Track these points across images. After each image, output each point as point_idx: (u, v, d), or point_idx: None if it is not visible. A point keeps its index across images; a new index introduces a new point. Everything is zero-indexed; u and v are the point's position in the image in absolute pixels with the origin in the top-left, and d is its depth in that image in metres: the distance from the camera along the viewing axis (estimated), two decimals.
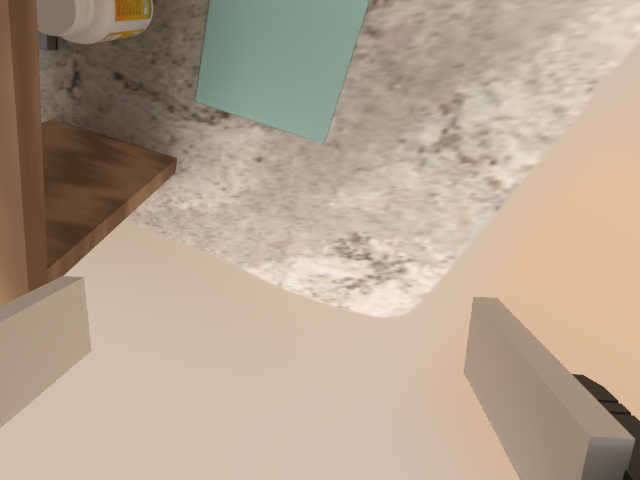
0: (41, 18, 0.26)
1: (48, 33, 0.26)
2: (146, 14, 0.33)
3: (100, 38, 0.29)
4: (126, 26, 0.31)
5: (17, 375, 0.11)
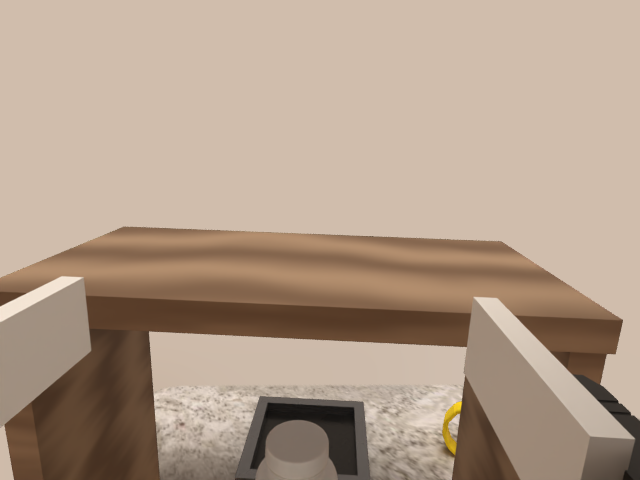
0: (281, 436, 0.27)
1: (267, 440, 0.26)
2: None
3: None
4: None
5: (17, 375, 0.11)
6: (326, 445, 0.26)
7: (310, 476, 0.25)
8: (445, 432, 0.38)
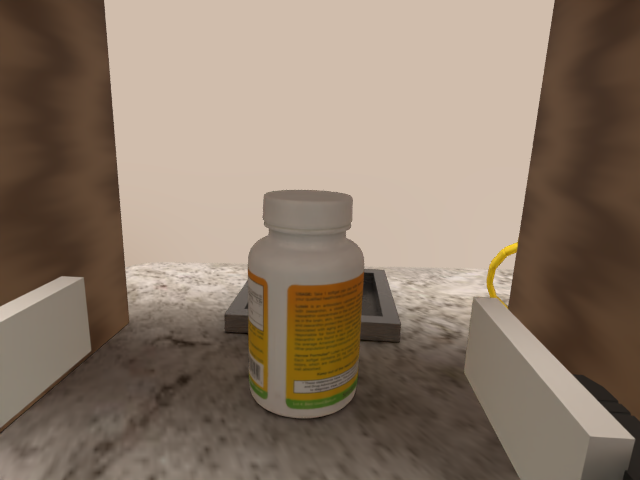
0: (285, 193, 0.19)
1: (266, 193, 0.19)
2: (294, 389, 0.18)
3: (259, 268, 0.18)
4: (276, 328, 0.18)
5: (17, 375, 0.11)
6: (349, 197, 0.18)
7: (327, 228, 0.17)
8: (491, 282, 0.30)
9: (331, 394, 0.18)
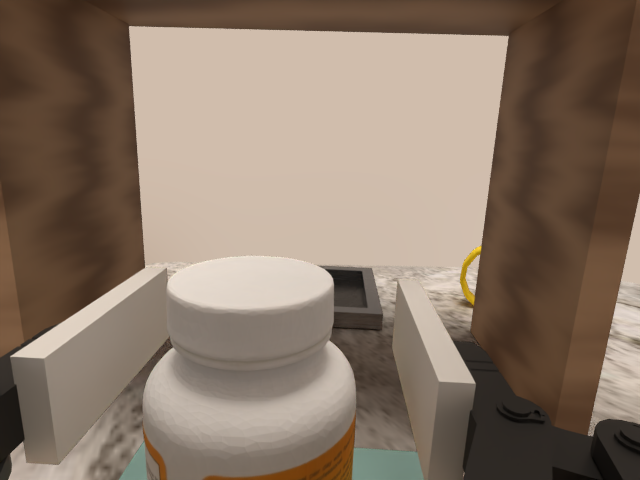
0: (211, 272, 0.10)
1: (174, 275, 0.10)
2: None
3: (152, 429, 0.09)
4: None
5: (126, 353, 0.13)
6: (328, 285, 0.10)
7: (282, 356, 0.09)
8: (464, 279, 0.35)
9: None
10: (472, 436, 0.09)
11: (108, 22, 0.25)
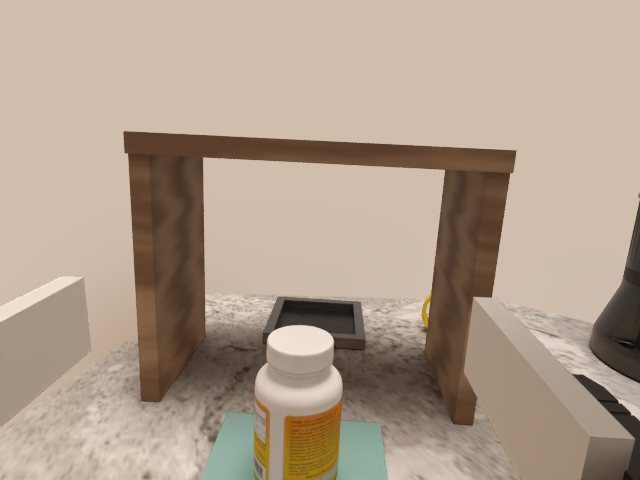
0: (283, 335, 0.25)
1: (269, 337, 0.25)
2: None
3: (263, 399, 0.24)
4: (275, 444, 0.24)
5: (17, 375, 0.11)
6: (331, 343, 0.24)
7: (314, 372, 0.23)
8: (424, 313, 0.49)
9: None
10: None
11: (194, 157, 0.39)
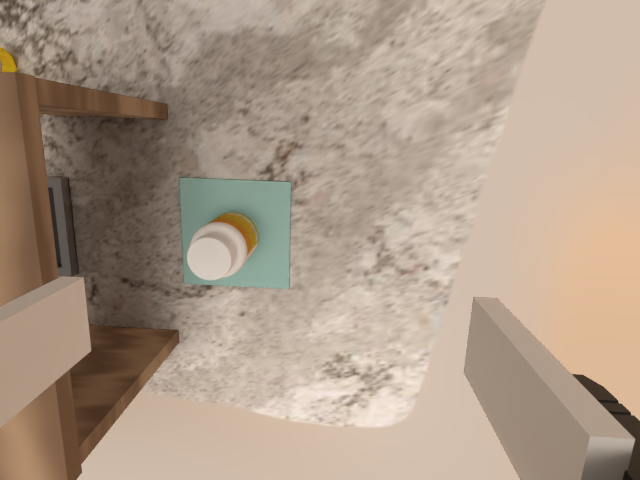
0: (206, 270, 0.37)
1: (211, 279, 0.37)
2: (256, 240, 0.44)
3: None
4: (249, 254, 0.42)
5: (17, 375, 0.11)
6: (212, 238, 0.36)
7: (231, 246, 0.37)
8: None
9: (253, 224, 0.44)
10: None
11: None
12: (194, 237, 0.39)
